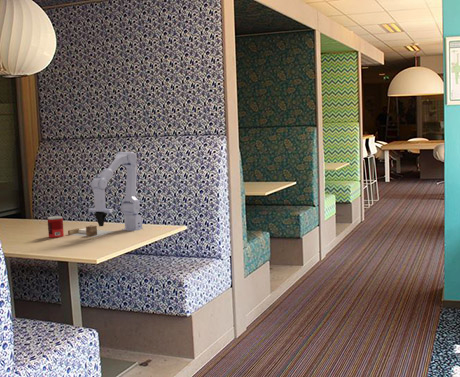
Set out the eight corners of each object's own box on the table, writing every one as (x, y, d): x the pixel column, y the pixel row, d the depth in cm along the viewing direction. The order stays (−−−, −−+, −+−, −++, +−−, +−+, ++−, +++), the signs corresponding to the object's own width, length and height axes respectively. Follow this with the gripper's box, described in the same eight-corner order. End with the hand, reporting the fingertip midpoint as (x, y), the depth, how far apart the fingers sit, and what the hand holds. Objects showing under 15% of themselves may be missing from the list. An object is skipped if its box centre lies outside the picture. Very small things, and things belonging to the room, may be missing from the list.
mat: (115, 232, 345) (115, 231, 345) (95, 237, 330) (95, 236, 330) (88, 230, 354) (87, 229, 354) (67, 235, 340) (66, 234, 340)
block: (97, 234, 336) (96, 225, 335) (92, 236, 332) (91, 227, 332) (91, 234, 338) (90, 225, 337) (86, 235, 334) (85, 226, 334)
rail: (79, 232, 344) (78, 228, 344) (70, 235, 338) (70, 230, 338) (77, 232, 345) (76, 228, 345) (68, 234, 339) (67, 230, 339)
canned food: (66, 236, 338) (65, 216, 337) (58, 239, 330) (56, 218, 329) (54, 235, 340) (53, 215, 339) (45, 238, 333) (44, 218, 332)
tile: (96, 228, 345) (87, 227, 349) (88, 230, 339) (78, 229, 342) (97, 231, 345) (87, 231, 349) (88, 234, 339) (78, 233, 343)
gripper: (84, 201, 329) (85, 226, 331) (105, 202, 323) (107, 227, 324) (93, 199, 336) (94, 224, 337) (114, 200, 329) (115, 225, 330)
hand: (101, 226), depth 331 cm, fingers closed
